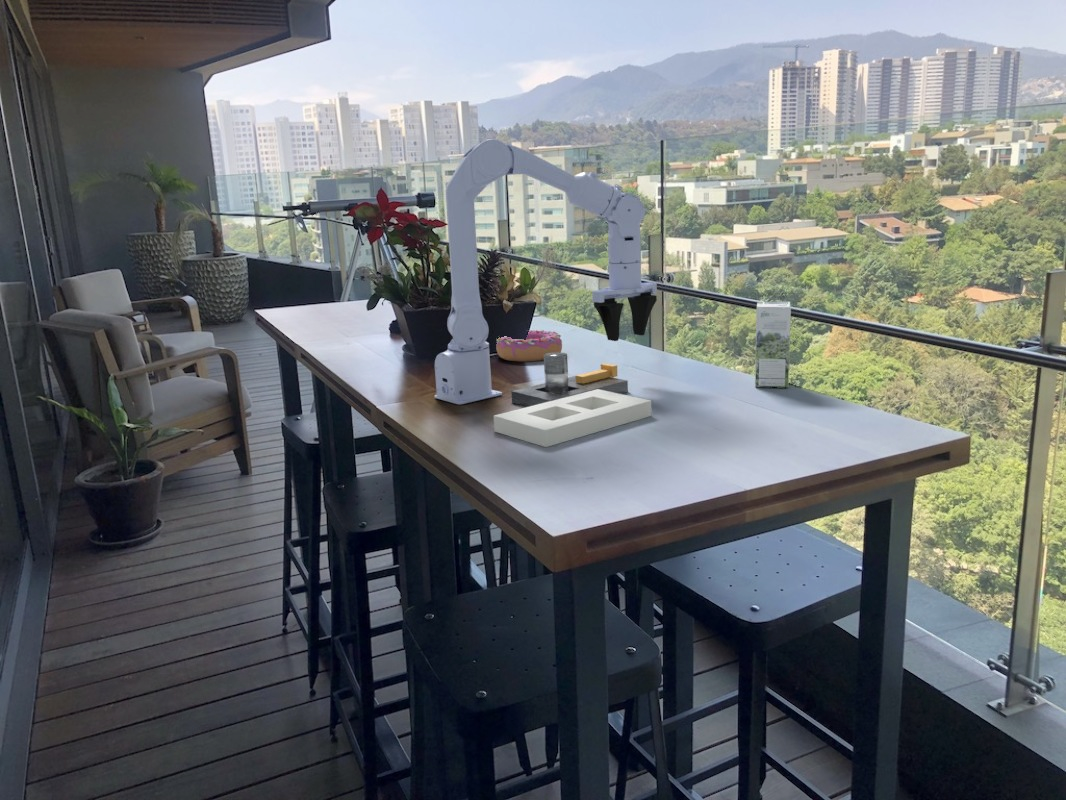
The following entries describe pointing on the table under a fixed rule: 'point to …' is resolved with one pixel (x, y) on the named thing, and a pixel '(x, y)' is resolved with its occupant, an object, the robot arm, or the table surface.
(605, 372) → the bar
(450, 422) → the table surface
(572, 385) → the dark grey socket tray
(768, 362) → the syrup box
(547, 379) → the brushed steel cylinder
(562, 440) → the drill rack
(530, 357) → the donut
